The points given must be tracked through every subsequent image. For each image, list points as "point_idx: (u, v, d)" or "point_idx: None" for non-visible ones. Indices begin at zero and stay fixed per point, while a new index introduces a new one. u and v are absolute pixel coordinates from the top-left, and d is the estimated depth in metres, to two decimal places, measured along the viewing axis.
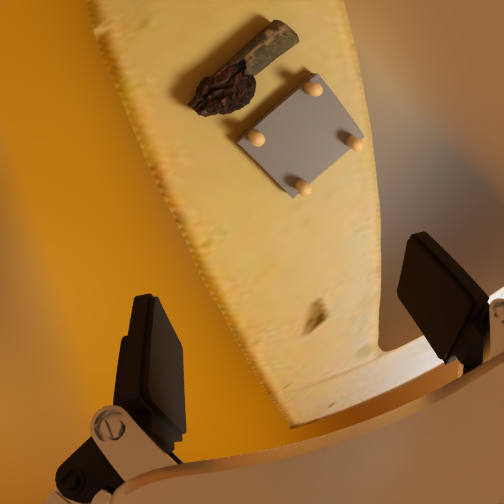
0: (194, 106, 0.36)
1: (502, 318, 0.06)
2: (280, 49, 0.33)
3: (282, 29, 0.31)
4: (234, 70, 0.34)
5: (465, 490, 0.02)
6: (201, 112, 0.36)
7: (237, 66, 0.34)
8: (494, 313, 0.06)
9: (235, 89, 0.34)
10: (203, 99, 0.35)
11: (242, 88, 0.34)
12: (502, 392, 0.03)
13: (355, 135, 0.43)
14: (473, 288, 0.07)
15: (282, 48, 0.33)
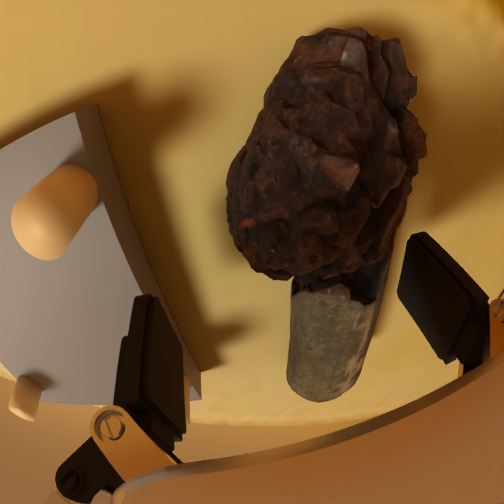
0: (388, 47, 0.06)
1: (502, 318, 0.06)
2: (312, 372, 0.14)
3: (345, 386, 0.15)
4: (371, 262, 0.10)
5: (465, 490, 0.02)
6: (359, 44, 0.06)
7: (366, 270, 0.11)
8: (494, 313, 0.06)
9: (339, 244, 0.08)
10: (388, 97, 0.07)
11: (317, 266, 0.08)
12: (502, 392, 0.03)
13: (42, 394, 0.15)
14: (473, 288, 0.07)
15: (311, 375, 0.14)
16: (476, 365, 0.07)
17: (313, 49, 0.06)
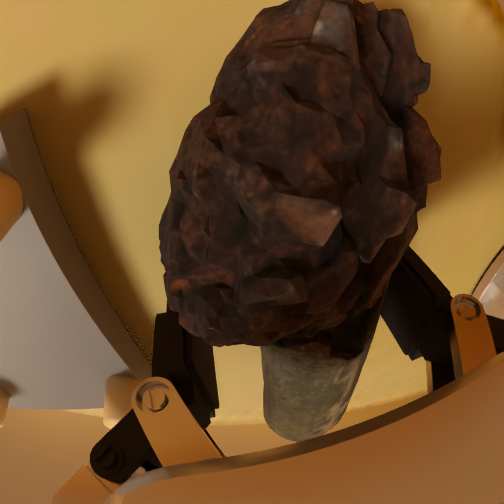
0: (387, 20, 0.04)
1: (466, 314, 0.07)
2: (289, 418, 0.12)
3: (328, 426, 0.13)
4: (357, 313, 0.08)
5: (465, 490, 0.02)
6: (342, 9, 0.03)
7: (351, 319, 0.09)
8: (456, 311, 0.07)
9: (310, 312, 0.06)
10: (389, 93, 0.04)
11: (281, 337, 0.06)
12: (502, 392, 0.03)
13: (10, 400, 0.13)
14: (433, 282, 0.07)
15: (288, 421, 0.12)
16: (445, 363, 0.07)
17: (272, 23, 0.04)
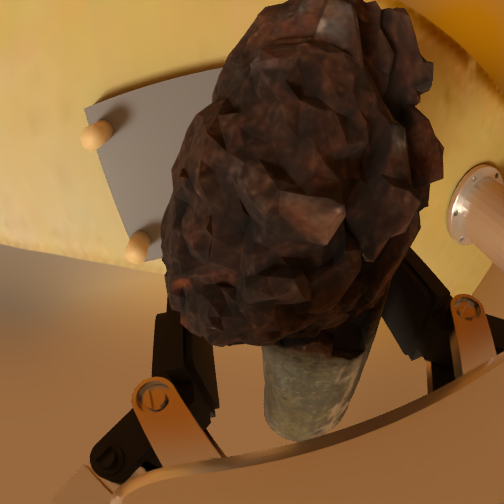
0: (389, 19, 0.04)
1: (466, 314, 0.07)
2: (290, 418, 0.12)
3: (329, 426, 0.13)
4: (359, 312, 0.08)
5: (465, 490, 0.02)
6: (345, 8, 0.03)
7: (353, 319, 0.08)
8: (456, 311, 0.07)
9: (313, 312, 0.06)
10: (392, 91, 0.04)
11: (283, 337, 0.06)
12: (502, 392, 0.03)
13: None
14: (433, 283, 0.07)
15: (288, 421, 0.12)
16: (445, 363, 0.07)
17: (275, 21, 0.04)
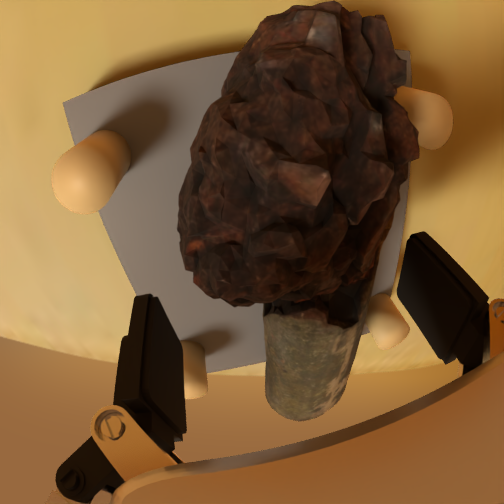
0: (370, 25, 0.05)
1: (502, 318, 0.06)
2: (290, 393, 0.13)
3: (328, 405, 0.14)
4: (351, 282, 0.09)
5: (465, 490, 0.02)
6: (330, 18, 0.04)
7: (346, 290, 0.10)
8: (494, 313, 0.06)
9: (308, 269, 0.07)
10: (371, 85, 0.05)
11: (282, 294, 0.07)
12: (502, 392, 0.03)
13: None
14: (473, 288, 0.07)
15: (289, 396, 0.13)
16: (476, 365, 0.07)
17: (275, 29, 0.05)
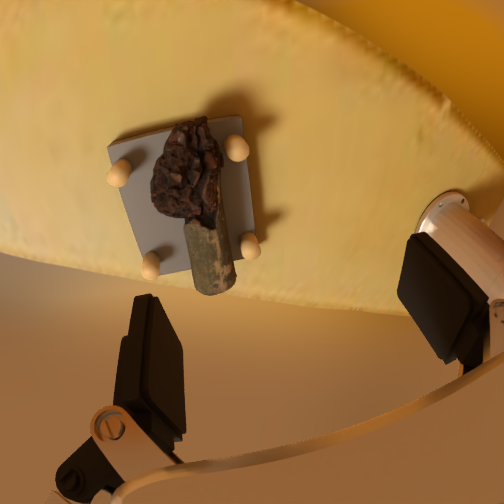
0: (199, 129, 0.22)
1: (502, 318, 0.06)
2: (199, 271, 0.30)
3: (222, 285, 0.31)
4: (207, 210, 0.26)
5: (465, 490, 0.02)
6: (183, 134, 0.21)
7: (209, 214, 0.27)
8: (494, 313, 0.06)
9: (182, 200, 0.24)
10: (199, 148, 0.23)
11: (177, 209, 0.24)
12: (502, 392, 0.03)
13: None
14: (473, 288, 0.07)
15: (198, 273, 0.30)
16: (476, 365, 0.07)
17: (173, 135, 0.22)
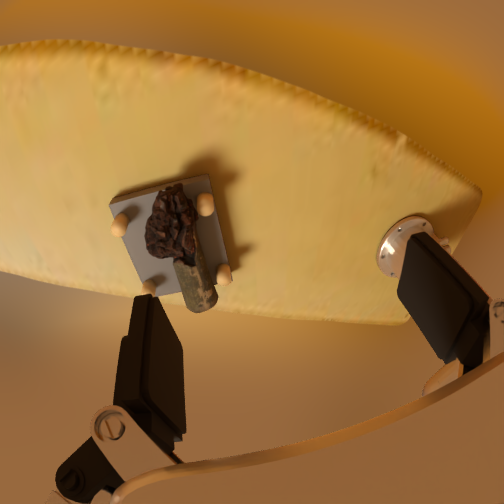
0: (175, 197, 0.31)
1: (502, 318, 0.06)
2: (187, 295, 0.39)
3: (206, 305, 0.40)
4: (188, 253, 0.35)
5: (465, 490, 0.02)
6: (163, 202, 0.30)
7: (190, 255, 0.36)
8: (494, 313, 0.06)
9: (168, 248, 0.33)
10: (176, 210, 0.32)
11: (165, 254, 0.33)
12: (502, 392, 0.03)
13: None
14: (473, 288, 0.07)
15: (187, 297, 0.39)
16: (476, 365, 0.07)
17: (157, 202, 0.31)
